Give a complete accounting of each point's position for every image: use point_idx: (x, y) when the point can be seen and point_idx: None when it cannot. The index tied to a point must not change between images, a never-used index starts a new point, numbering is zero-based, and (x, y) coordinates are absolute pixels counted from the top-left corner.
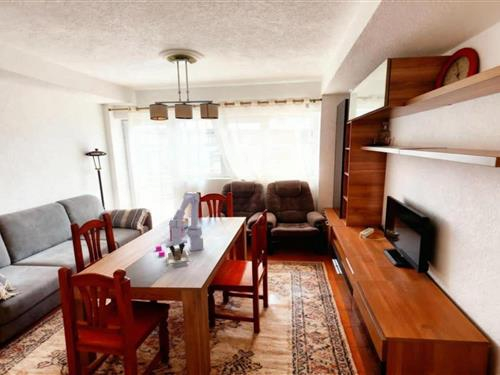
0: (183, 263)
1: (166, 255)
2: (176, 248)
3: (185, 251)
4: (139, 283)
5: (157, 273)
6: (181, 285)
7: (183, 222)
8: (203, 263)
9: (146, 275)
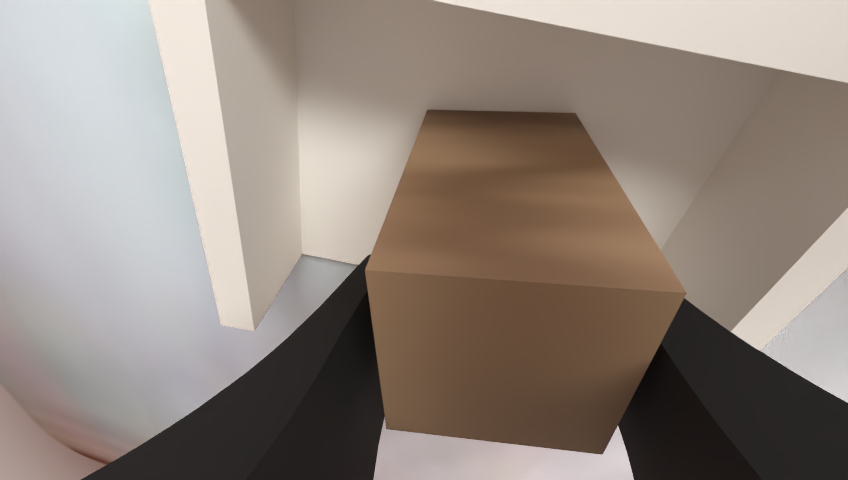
0: None
1: (193, 188)
2: (546, 292)
3: (833, 224)
4: (64, 425)
5: (179, 377)
6: None
7: None
8: None
9: (68, 356)
